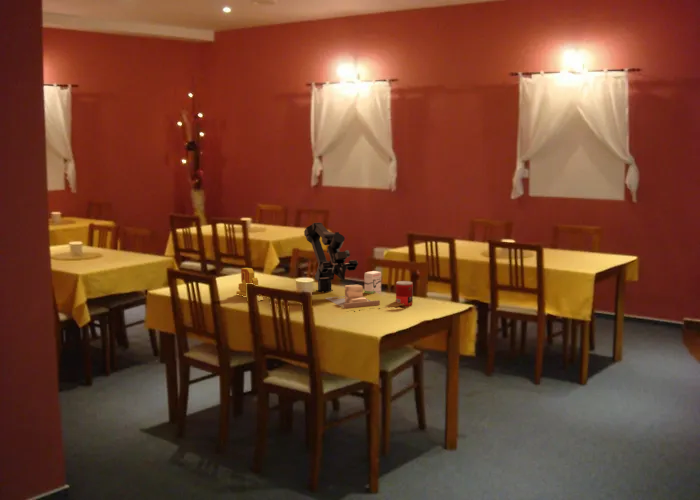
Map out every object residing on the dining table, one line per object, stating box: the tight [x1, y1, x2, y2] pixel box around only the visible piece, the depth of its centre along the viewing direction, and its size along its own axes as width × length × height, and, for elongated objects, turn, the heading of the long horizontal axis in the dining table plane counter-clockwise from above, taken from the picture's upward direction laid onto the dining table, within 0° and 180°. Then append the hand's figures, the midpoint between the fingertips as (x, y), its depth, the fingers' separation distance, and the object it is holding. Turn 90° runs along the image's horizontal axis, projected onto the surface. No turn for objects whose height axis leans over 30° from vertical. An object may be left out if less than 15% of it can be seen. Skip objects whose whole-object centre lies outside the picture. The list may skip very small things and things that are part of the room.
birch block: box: [344, 284, 368, 303], centre depth 358 cm, size 10×7×8 cm
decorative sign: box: [235, 267, 260, 297], centre depth 379 cm, size 20×3×15 cm, turn 41°
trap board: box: [324, 295, 371, 306], centre depth 367 cm, size 18×18×2 cm
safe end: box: [338, 299, 381, 312], centre depth 355 cm, size 7×18×4 cm, turn 114°
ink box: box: [363, 270, 382, 295], centre depth 385 cm, size 9×5×12 cm, turn 143°
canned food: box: [395, 280, 414, 307], centre depth 361 cm, size 8×8×11 cm
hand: (343, 280), depth 371 cm, fingers closed
